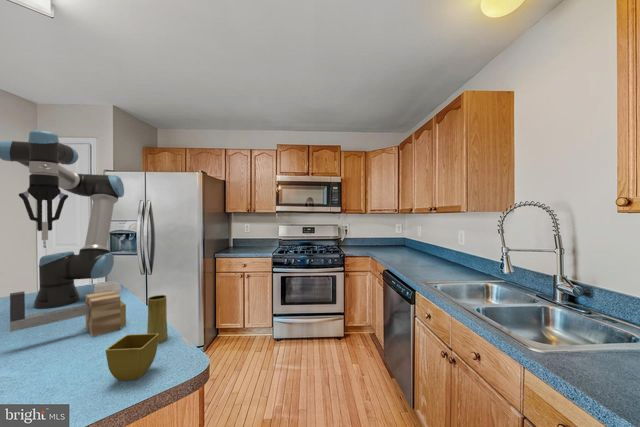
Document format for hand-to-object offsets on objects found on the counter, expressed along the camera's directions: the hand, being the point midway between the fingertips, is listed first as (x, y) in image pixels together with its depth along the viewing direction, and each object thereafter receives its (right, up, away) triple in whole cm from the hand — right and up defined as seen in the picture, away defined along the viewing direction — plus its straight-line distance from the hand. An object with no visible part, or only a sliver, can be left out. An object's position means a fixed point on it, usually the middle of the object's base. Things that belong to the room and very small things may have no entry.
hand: (44, 239), depth 100 cm
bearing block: (+21, -32, +1) cm, 38 cm away
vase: (+46, -33, -8) cm, 57 cm away
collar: (+24, -32, +5) cm, 41 cm away
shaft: (+14, -26, -7) cm, 30 cm away
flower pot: (+51, -33, -28) cm, 67 cm away
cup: (+10, -33, +17) cm, 38 cm away
